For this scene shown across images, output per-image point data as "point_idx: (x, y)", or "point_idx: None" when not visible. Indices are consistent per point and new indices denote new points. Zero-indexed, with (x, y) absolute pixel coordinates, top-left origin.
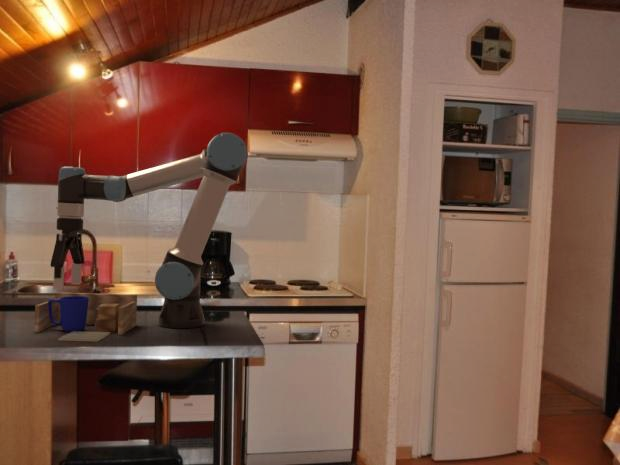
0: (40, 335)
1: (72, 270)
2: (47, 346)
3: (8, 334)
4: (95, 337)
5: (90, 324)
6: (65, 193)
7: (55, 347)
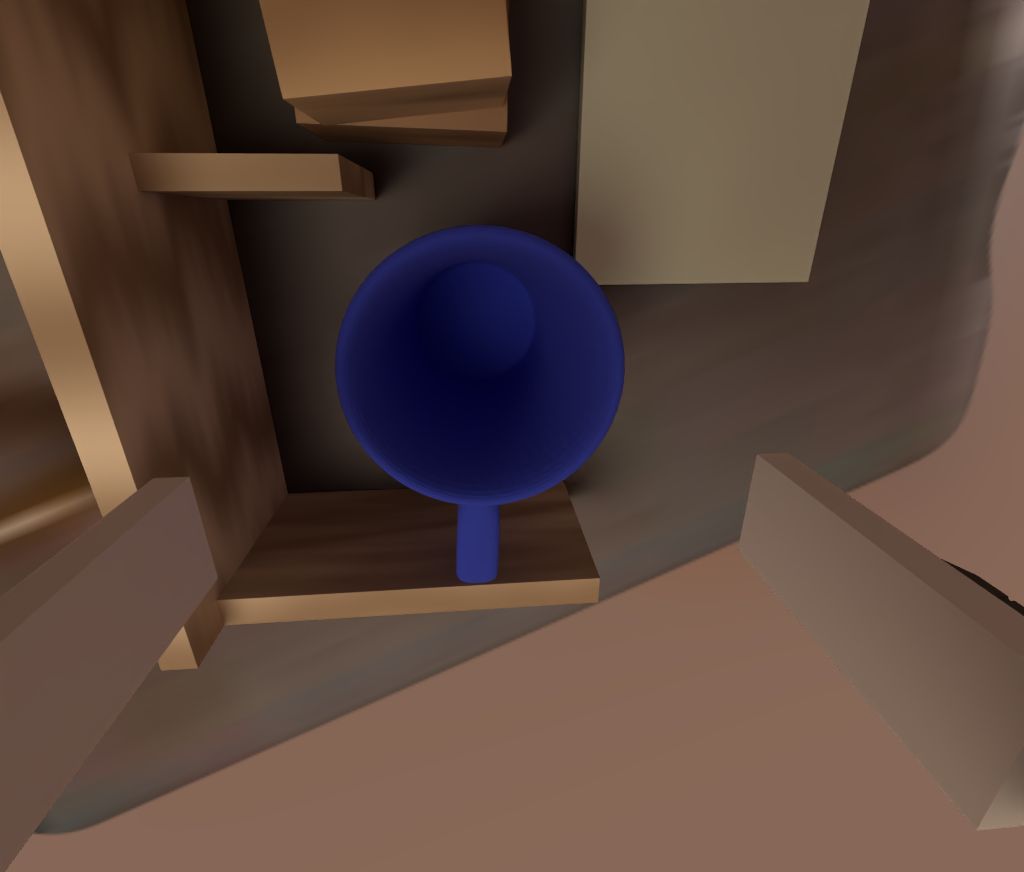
0: (651, 434)
1: (81, 746)
2: (950, 273)
3: (633, 577)
4: (797, 28)
5: (244, 287)
6: None
7: (987, 217)
